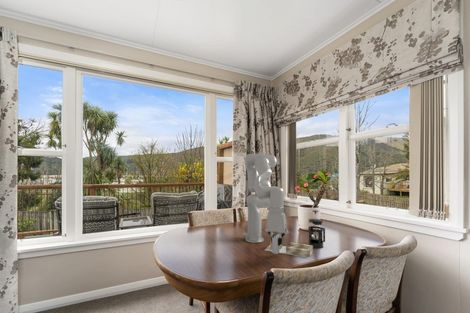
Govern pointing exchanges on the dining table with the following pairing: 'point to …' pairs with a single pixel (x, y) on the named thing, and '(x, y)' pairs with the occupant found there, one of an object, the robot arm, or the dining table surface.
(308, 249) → the frame
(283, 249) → the mat
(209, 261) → the dining table surface
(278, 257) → the dining table surface
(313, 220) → the french press
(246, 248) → the dining table surface
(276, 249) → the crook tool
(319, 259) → the dining table surface
